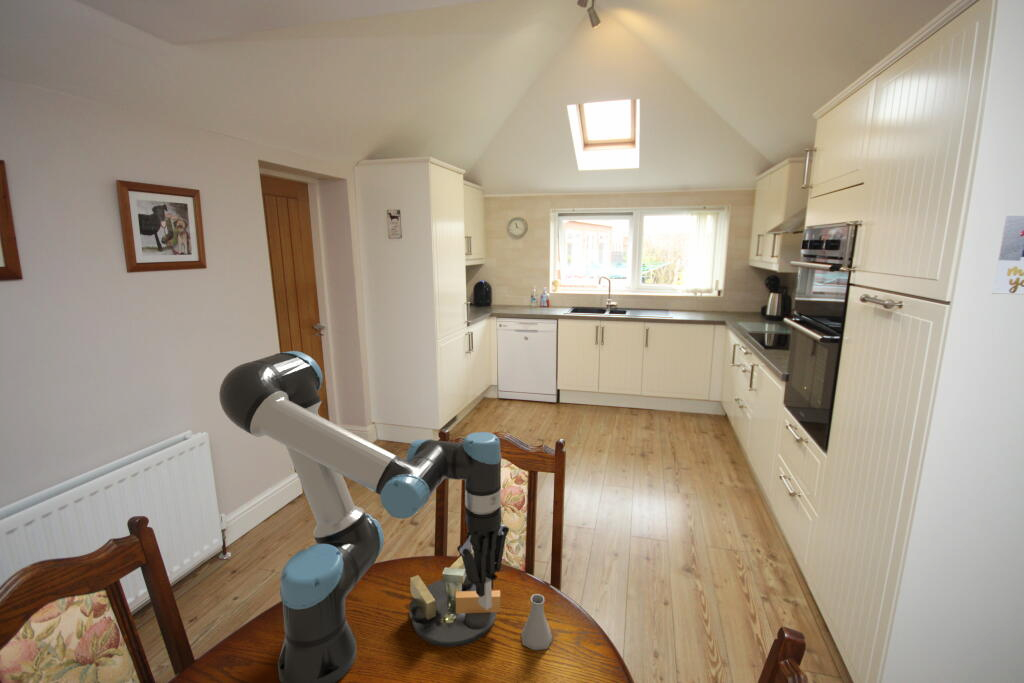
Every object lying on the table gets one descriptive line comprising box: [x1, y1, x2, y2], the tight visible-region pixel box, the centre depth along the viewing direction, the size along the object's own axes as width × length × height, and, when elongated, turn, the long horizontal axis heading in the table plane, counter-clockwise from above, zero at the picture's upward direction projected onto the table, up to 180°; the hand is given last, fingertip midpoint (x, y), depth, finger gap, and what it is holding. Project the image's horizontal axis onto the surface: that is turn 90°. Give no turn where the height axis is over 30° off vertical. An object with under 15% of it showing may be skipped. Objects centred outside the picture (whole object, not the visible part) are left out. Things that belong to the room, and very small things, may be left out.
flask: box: [520, 593, 554, 651], centre depth 105 cm, size 7×7×10 cm
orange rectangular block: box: [456, 589, 501, 629], centre depth 108 cm, size 10×6×6 cm, turn 93°
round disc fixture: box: [409, 548, 497, 648], centre depth 113 cm, size 20×22×11 cm
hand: (485, 605), depth 104 cm, fingers closed
